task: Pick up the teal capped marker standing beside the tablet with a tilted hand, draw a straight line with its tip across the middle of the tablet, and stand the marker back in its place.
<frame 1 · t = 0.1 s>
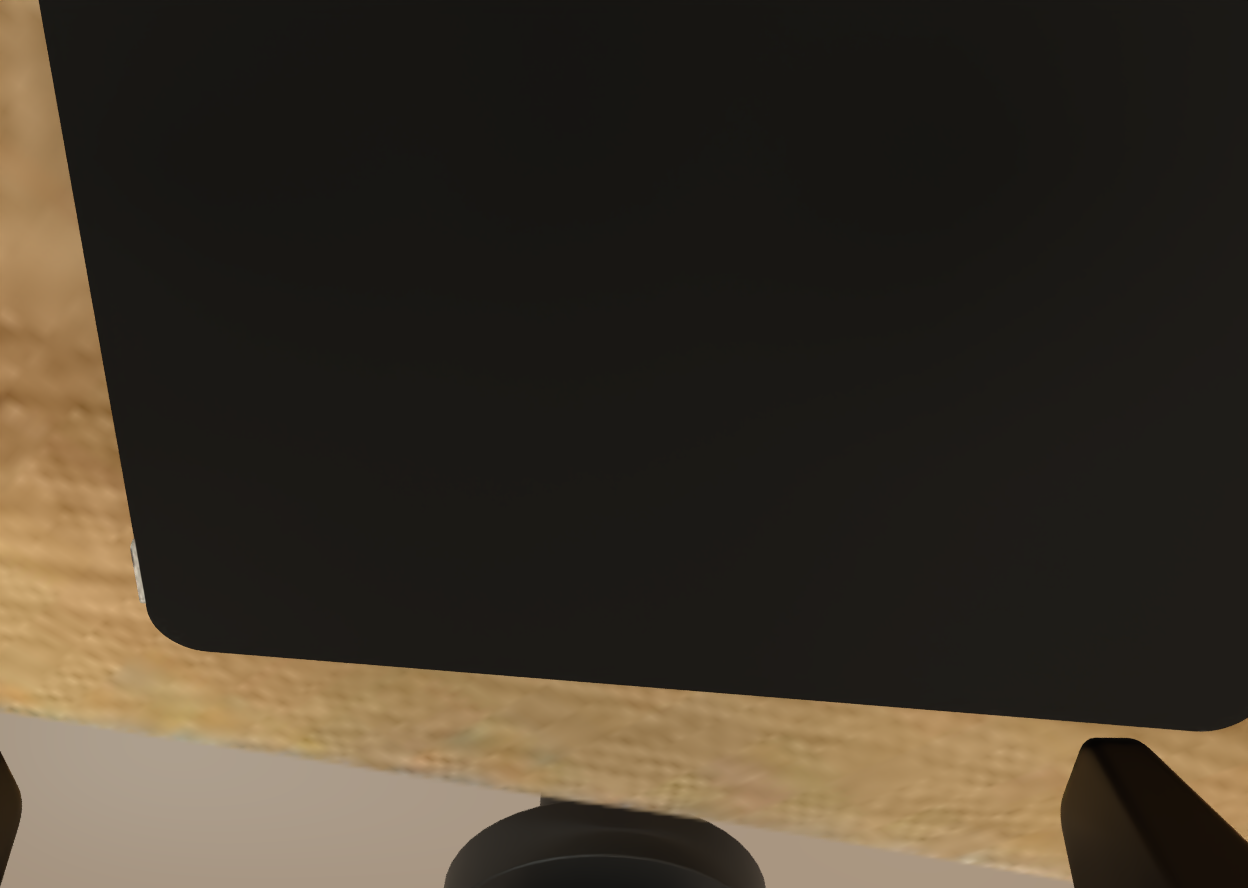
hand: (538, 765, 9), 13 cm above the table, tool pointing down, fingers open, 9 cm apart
tablet: (796, 319, 22), on the table
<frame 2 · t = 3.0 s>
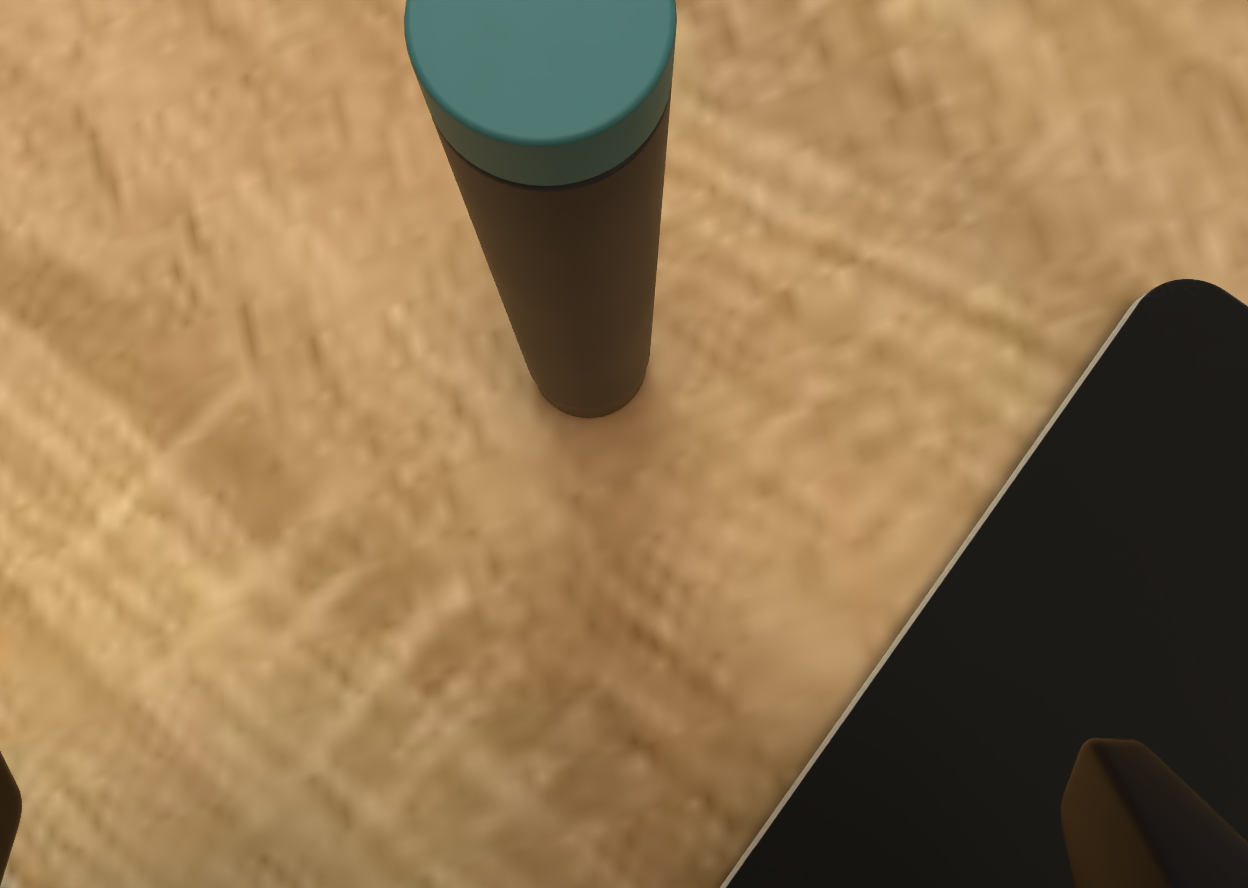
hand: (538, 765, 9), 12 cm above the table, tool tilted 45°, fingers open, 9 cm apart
teal capped marker: (589, 362, 23), on the table
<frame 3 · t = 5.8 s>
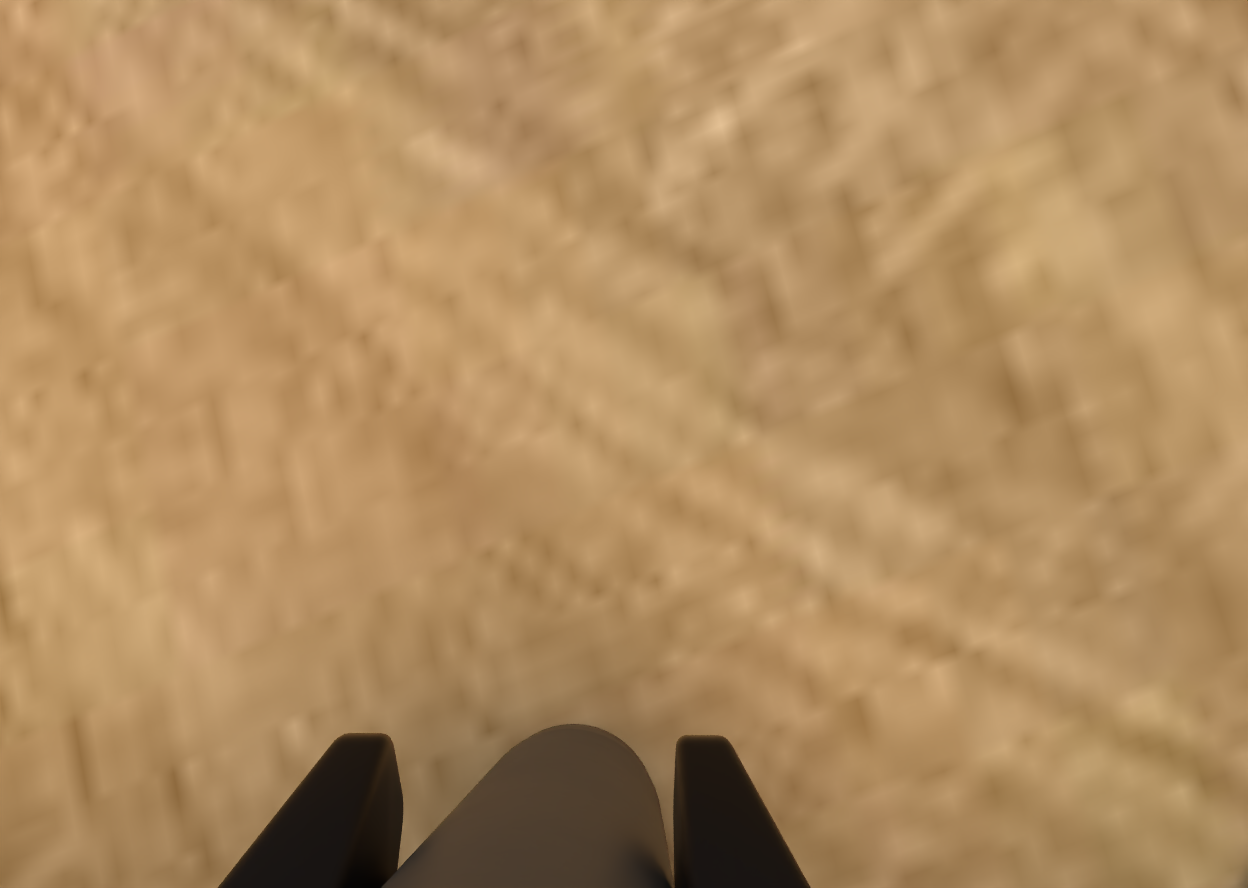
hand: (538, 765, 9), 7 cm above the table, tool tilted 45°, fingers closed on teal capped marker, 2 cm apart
teal capped marker: (573, 808, 16), on the table, touching gripper
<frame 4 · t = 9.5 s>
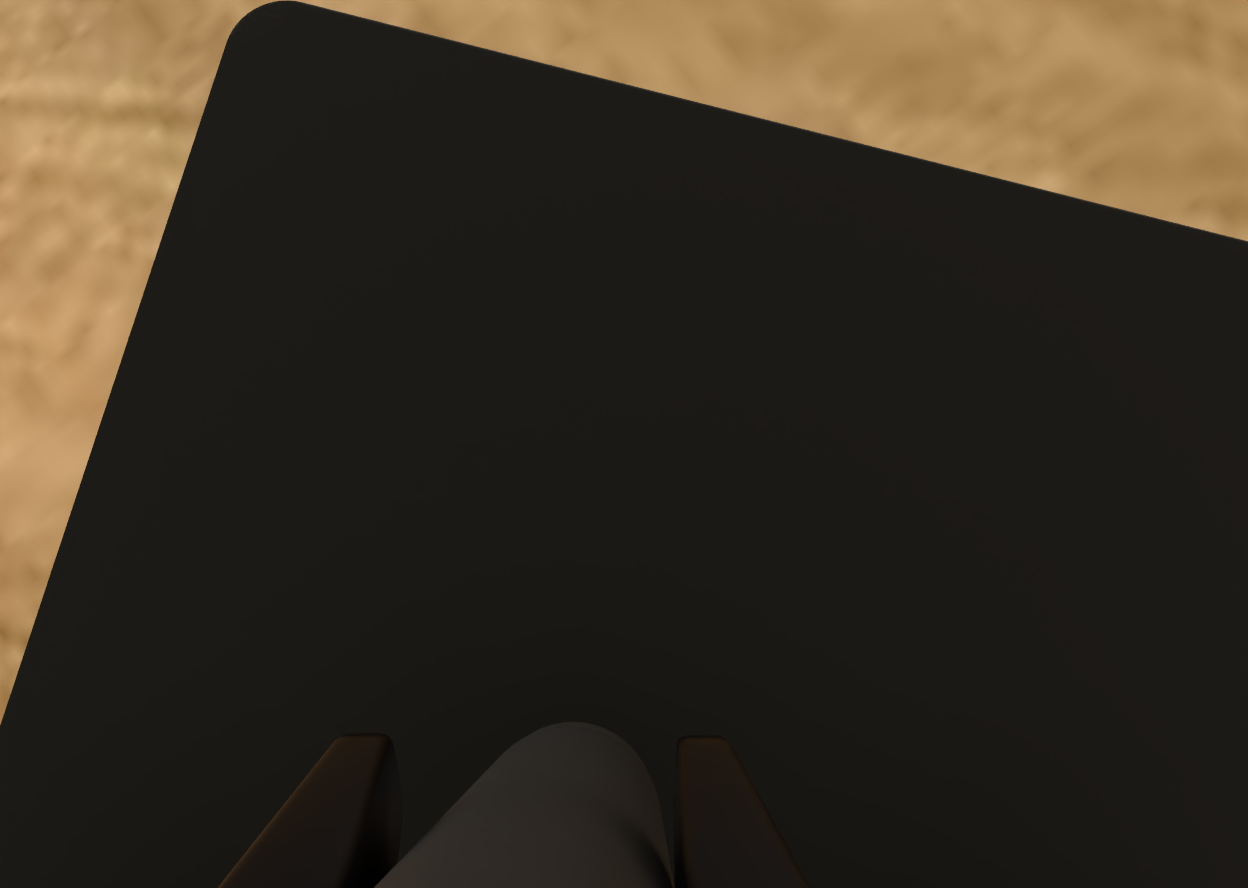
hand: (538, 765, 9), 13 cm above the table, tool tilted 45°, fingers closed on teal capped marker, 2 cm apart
teal capped marker: (572, 806, 16), point 6 cm above the table, touching gripper
tablet: (749, 628, 22), on the table
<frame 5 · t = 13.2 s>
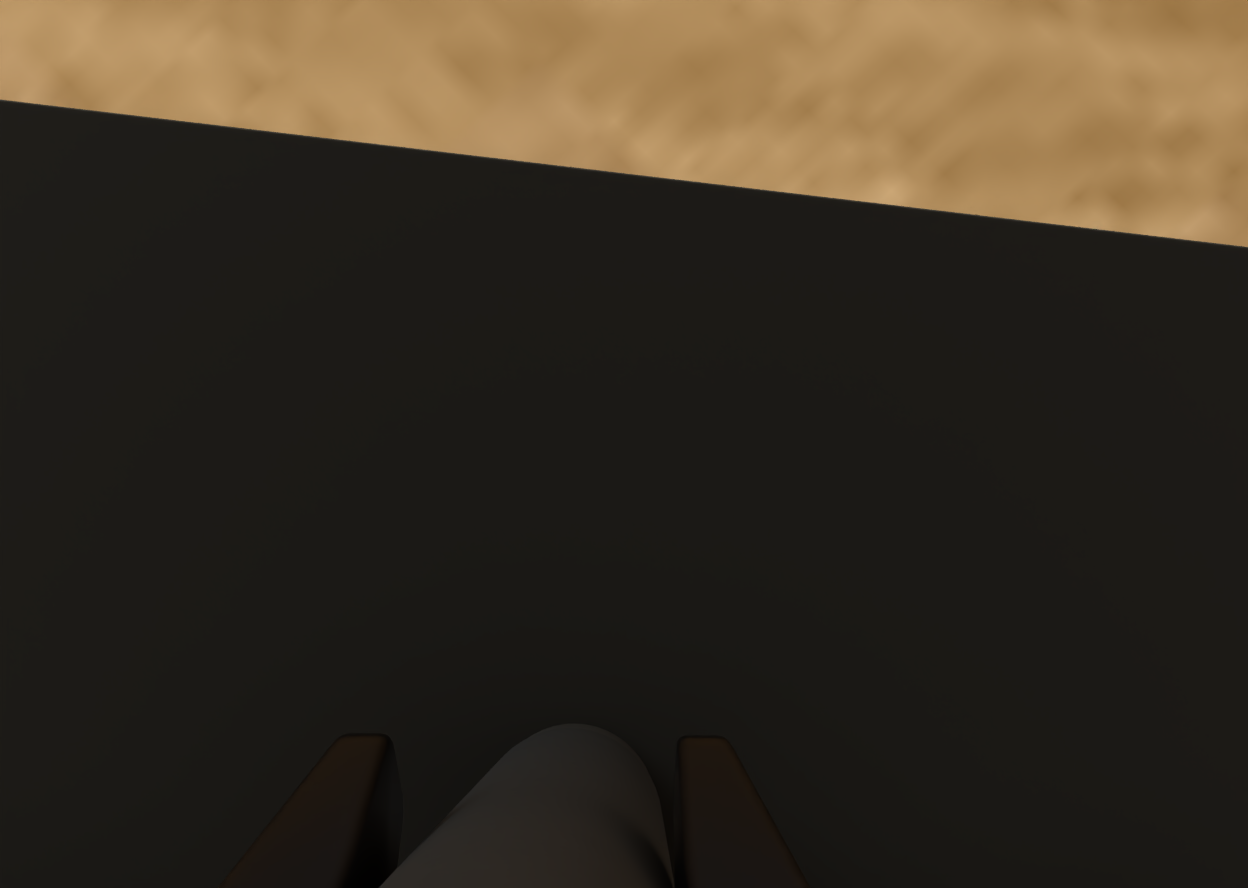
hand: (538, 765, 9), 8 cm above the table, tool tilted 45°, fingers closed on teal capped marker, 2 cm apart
teal capped marker: (573, 807, 16), point 1 cm above the table, touching gripper
tablet: (573, 833, 17), on the table
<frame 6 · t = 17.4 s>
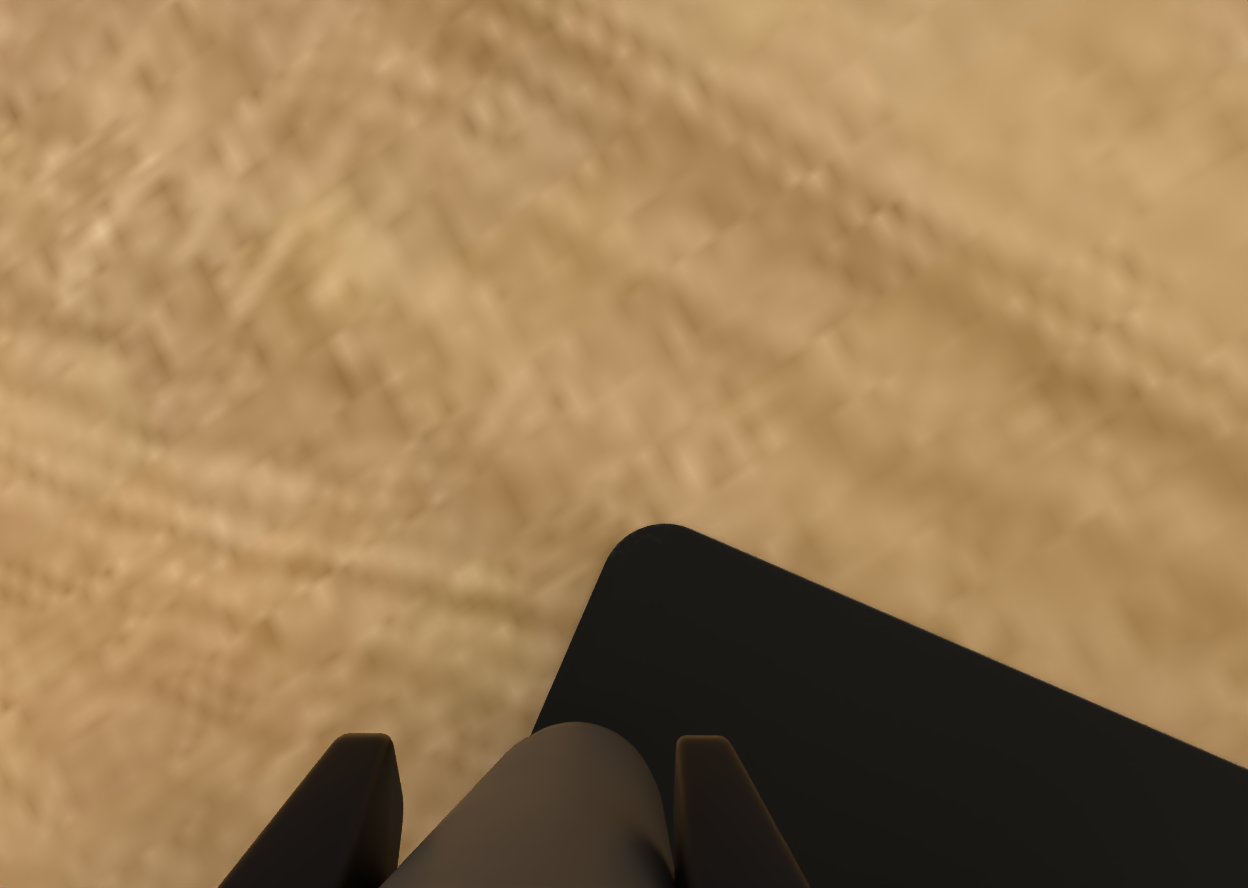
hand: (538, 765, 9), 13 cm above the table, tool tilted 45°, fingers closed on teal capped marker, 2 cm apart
teal capped marker: (575, 806, 16), point 6 cm above the table, touching gripper
when the fingers open (7 cm above the table, at t = 20.6 s): teal capped marker stays where it is, on the table.
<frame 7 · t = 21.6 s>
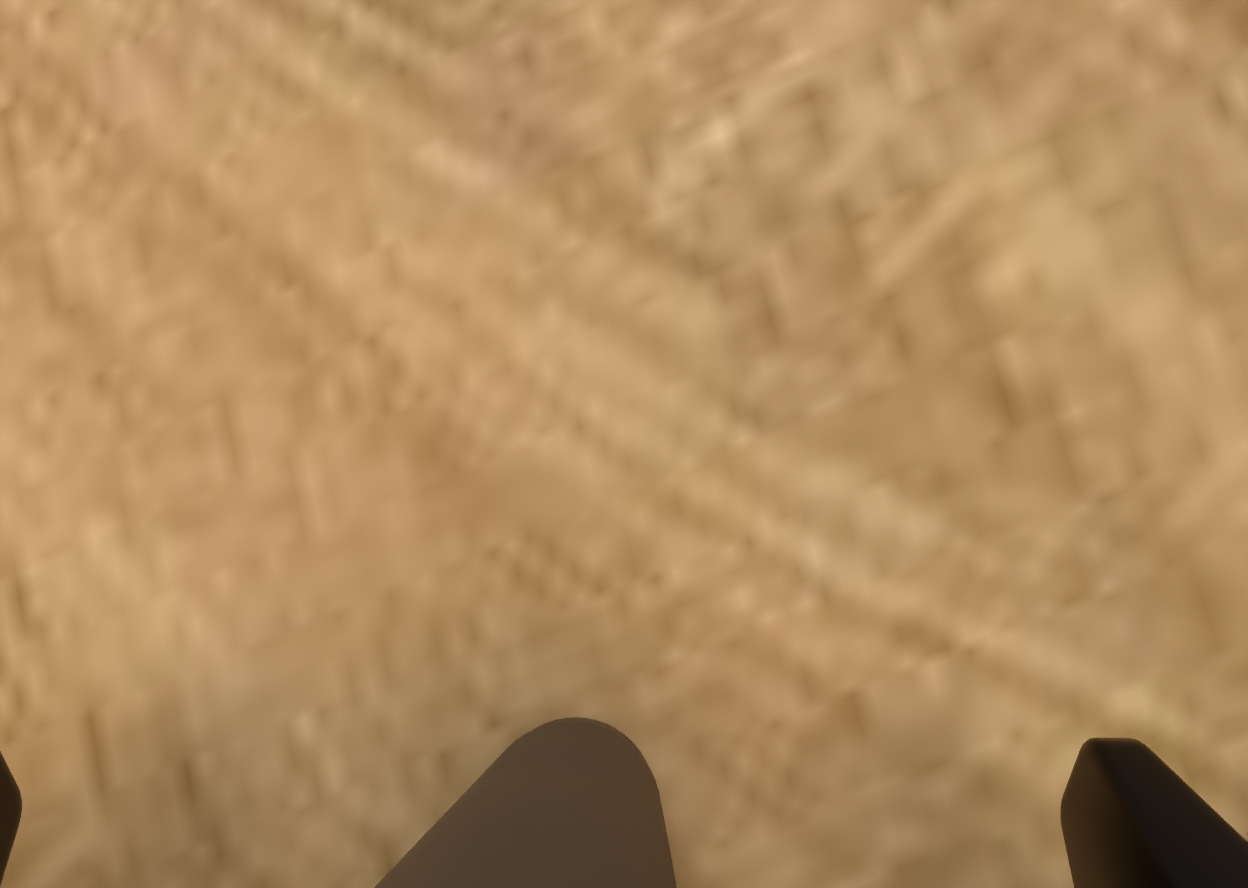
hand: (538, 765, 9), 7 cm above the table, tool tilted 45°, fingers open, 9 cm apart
teal capped marker: (575, 799, 16), on the table
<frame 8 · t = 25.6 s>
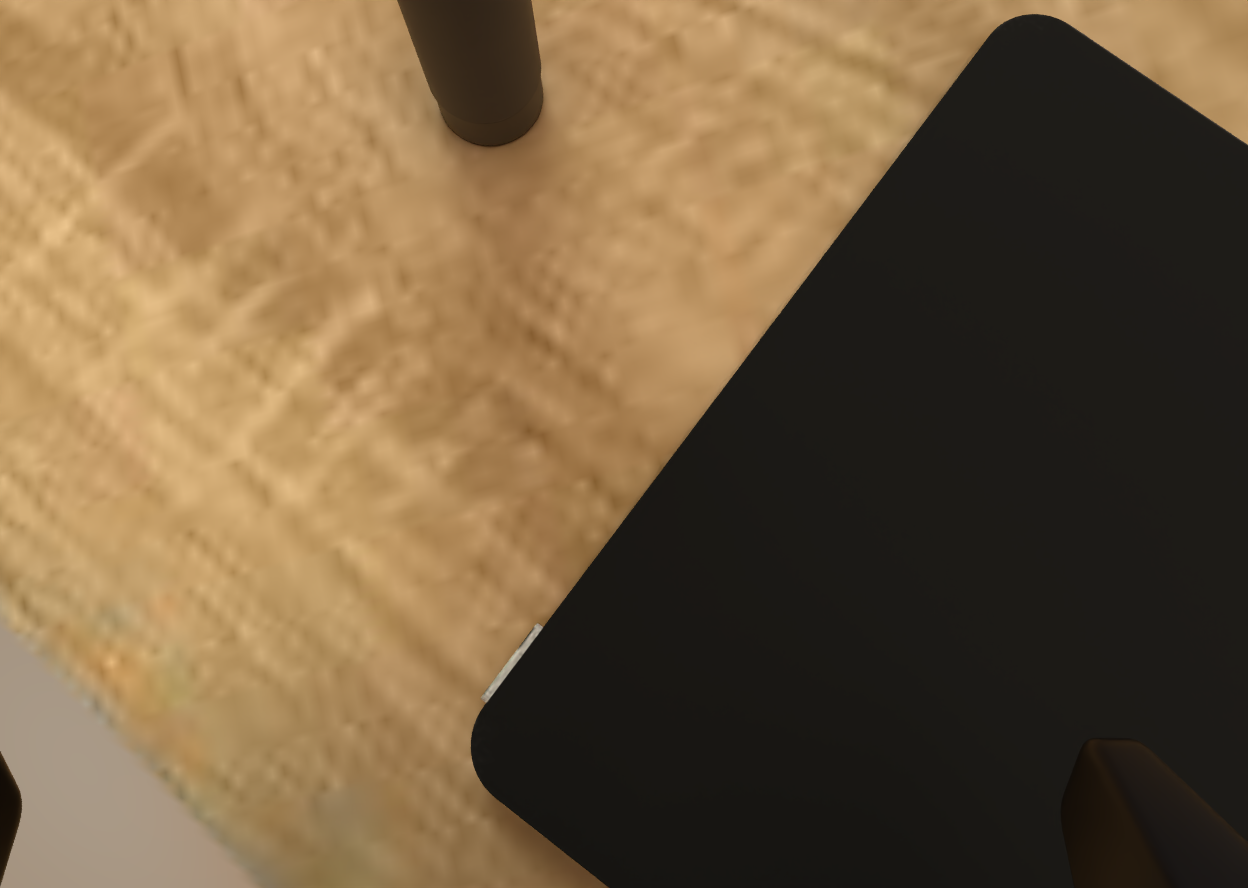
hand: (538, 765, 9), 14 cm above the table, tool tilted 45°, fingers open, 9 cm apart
teal capped marker: (491, 97, 25), on the table
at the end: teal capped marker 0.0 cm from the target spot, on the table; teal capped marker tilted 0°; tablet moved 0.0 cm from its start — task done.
